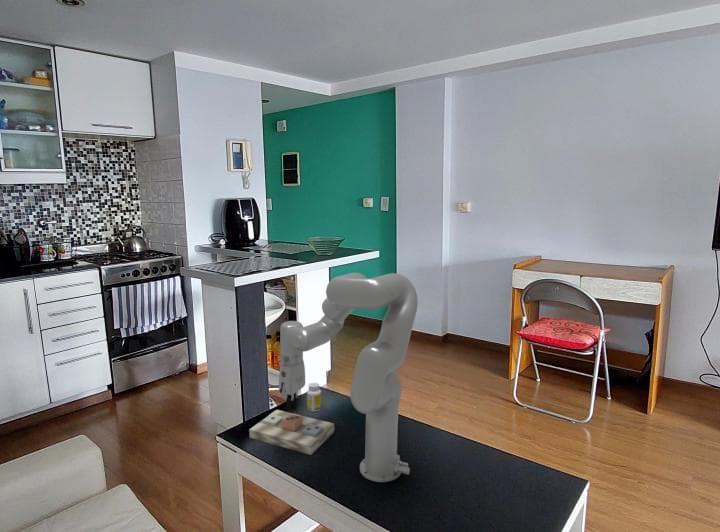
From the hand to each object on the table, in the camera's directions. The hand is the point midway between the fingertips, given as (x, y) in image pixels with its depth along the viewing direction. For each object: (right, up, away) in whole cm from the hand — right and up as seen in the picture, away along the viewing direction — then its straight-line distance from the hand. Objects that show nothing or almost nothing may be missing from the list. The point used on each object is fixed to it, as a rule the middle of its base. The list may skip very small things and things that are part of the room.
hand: (291, 409), depth 157 cm
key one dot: (-7, -7, +4) cm, 11 cm away
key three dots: (0, -6, +1) cm, 6 cm away
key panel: (0, -9, +1) cm, 9 cm away
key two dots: (+8, -9, -2) cm, 12 cm away
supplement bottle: (+6, -6, +21) cm, 22 cm away
